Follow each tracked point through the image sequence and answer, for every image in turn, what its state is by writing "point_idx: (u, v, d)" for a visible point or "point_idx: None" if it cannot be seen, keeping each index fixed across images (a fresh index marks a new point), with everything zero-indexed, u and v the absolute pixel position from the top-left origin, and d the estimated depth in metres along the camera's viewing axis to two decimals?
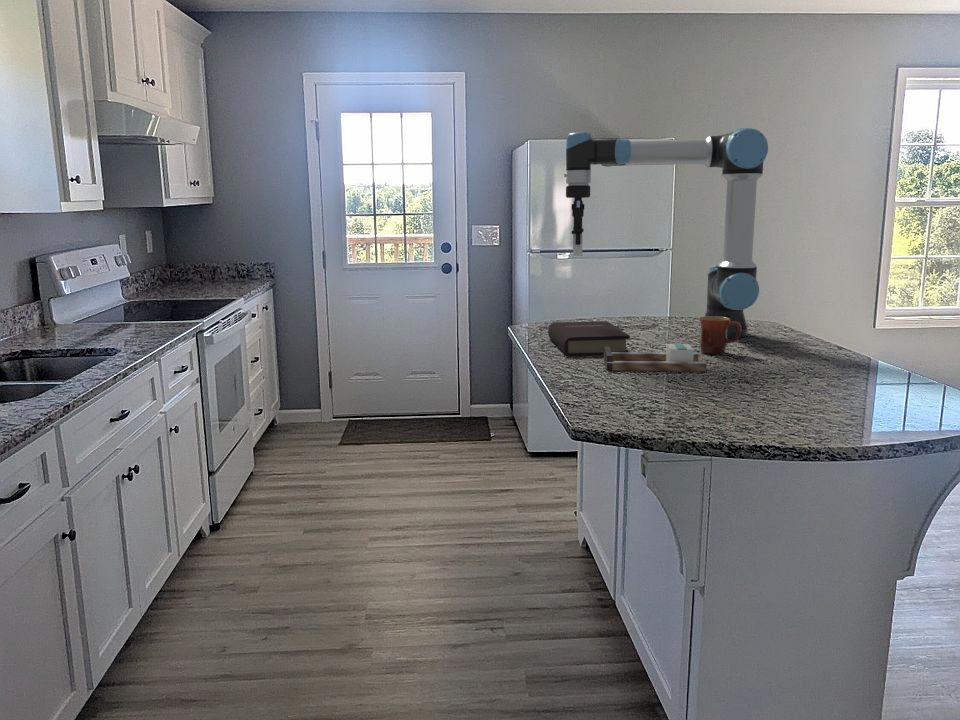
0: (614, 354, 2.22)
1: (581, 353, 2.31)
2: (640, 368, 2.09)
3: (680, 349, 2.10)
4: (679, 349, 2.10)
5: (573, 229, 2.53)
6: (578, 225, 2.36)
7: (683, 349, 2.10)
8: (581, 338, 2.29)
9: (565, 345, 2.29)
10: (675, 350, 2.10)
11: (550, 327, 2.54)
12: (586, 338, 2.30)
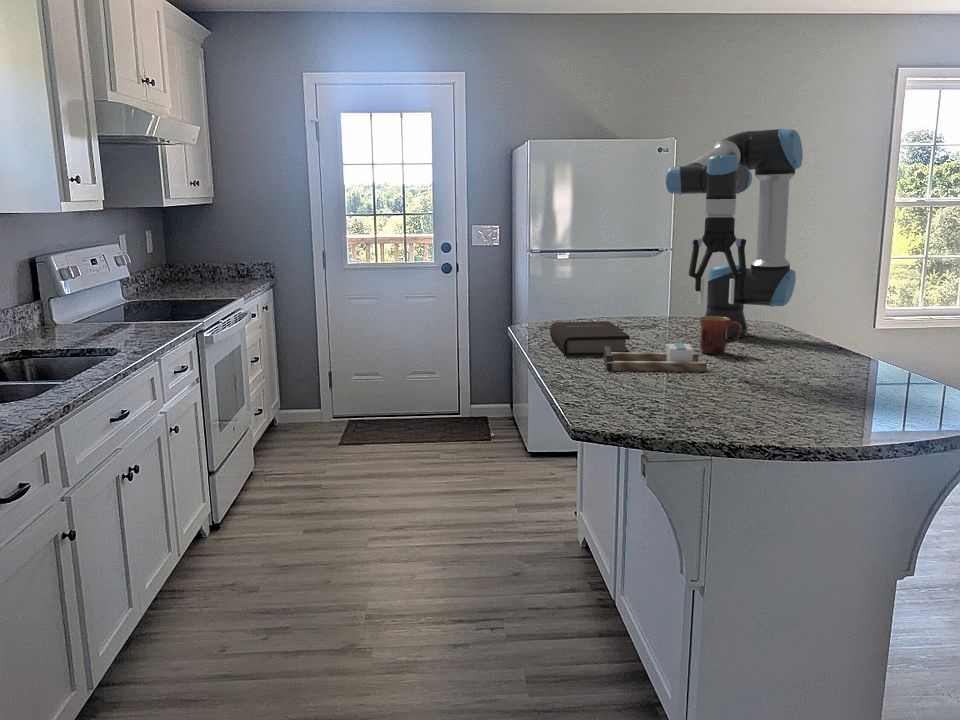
0: (614, 354, 2.22)
1: (580, 353, 2.31)
2: (640, 368, 2.09)
3: (679, 349, 2.10)
4: (678, 349, 2.10)
5: (734, 275, 2.10)
6: (690, 269, 2.09)
7: (682, 349, 2.10)
8: (580, 338, 2.30)
9: (564, 345, 2.30)
10: (674, 350, 2.10)
11: (552, 327, 2.54)
12: (585, 338, 2.30)
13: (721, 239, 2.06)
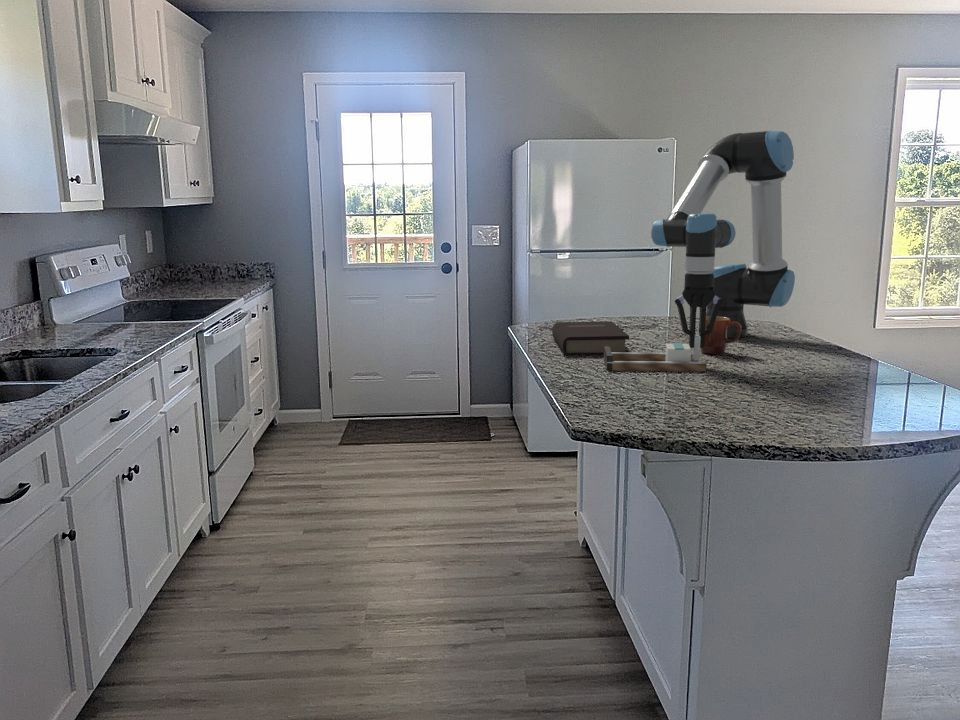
0: (614, 354, 2.22)
1: (580, 353, 2.31)
2: (640, 368, 2.09)
3: (677, 349, 2.10)
4: (676, 349, 2.10)
5: None
6: (682, 327, 2.13)
7: (680, 349, 2.10)
8: (580, 338, 2.30)
9: (563, 345, 2.30)
10: (672, 350, 2.10)
11: (554, 327, 2.55)
12: (585, 338, 2.30)
13: (702, 294, 2.09)
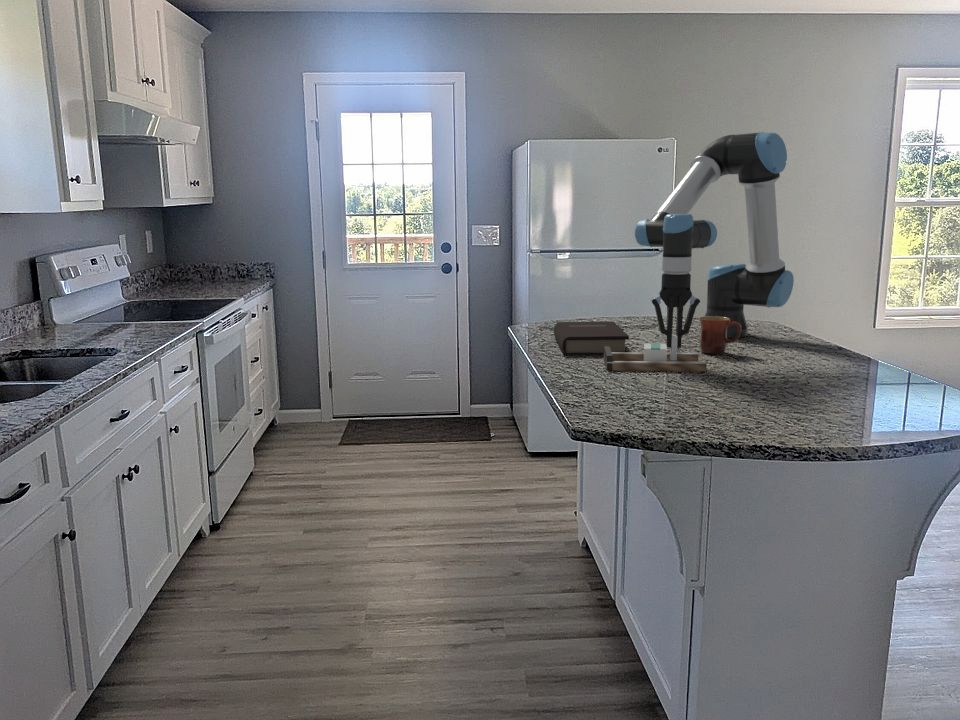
0: (614, 354, 2.22)
1: (579, 353, 2.31)
2: (640, 368, 2.09)
3: (653, 349, 2.11)
4: (652, 349, 2.11)
5: None
6: (659, 327, 2.13)
7: (656, 349, 2.11)
8: (579, 338, 2.30)
9: (563, 344, 2.30)
10: (648, 350, 2.11)
11: (555, 326, 2.55)
12: (584, 338, 2.30)
13: (678, 294, 2.10)
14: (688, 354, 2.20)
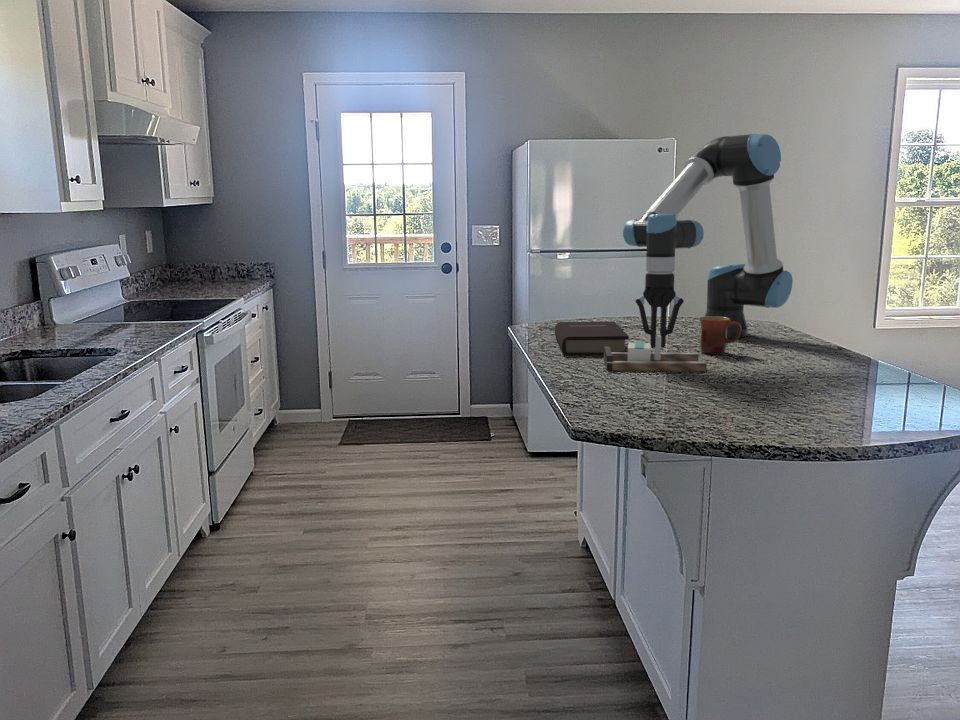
0: (614, 354, 2.22)
1: (579, 353, 2.31)
2: (640, 368, 2.09)
3: (637, 348, 2.11)
4: (636, 348, 2.11)
5: None
6: (643, 327, 2.13)
7: (640, 348, 2.11)
8: (579, 338, 2.30)
9: (563, 344, 2.31)
10: (632, 349, 2.12)
11: (556, 326, 2.55)
12: (584, 338, 2.30)
13: (662, 294, 2.10)
14: (688, 354, 2.20)
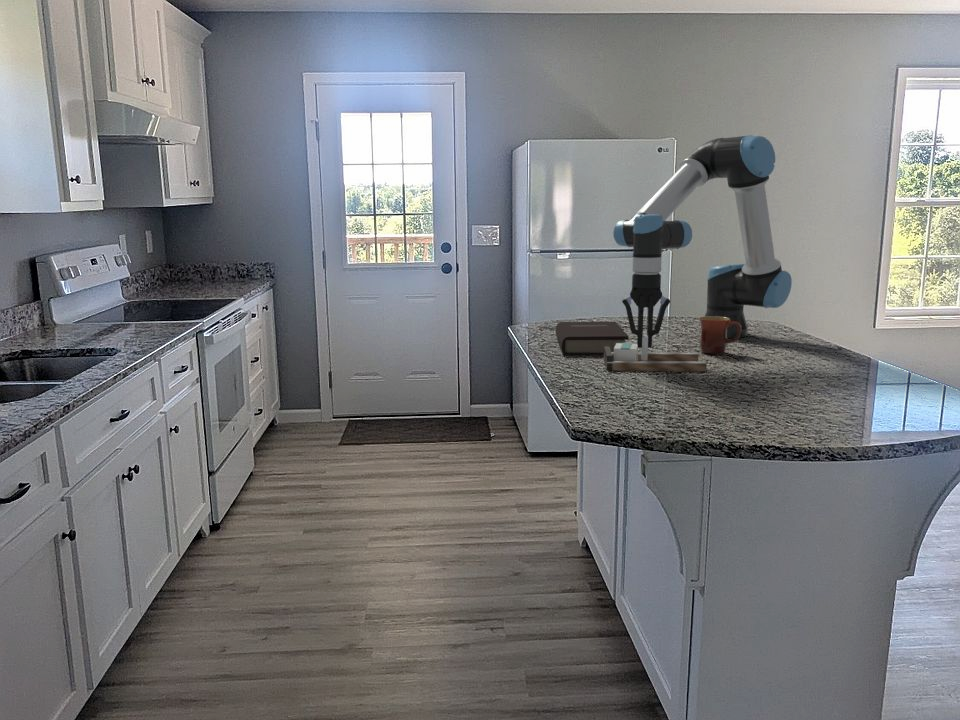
0: None
1: (579, 353, 2.31)
2: (640, 368, 2.09)
3: (623, 348, 2.12)
4: (622, 348, 2.12)
5: None
6: (630, 327, 2.14)
7: (626, 349, 2.12)
8: (579, 338, 2.30)
9: (562, 344, 2.31)
10: (618, 349, 2.12)
11: (557, 326, 2.55)
12: (584, 338, 2.30)
13: (649, 294, 2.11)
14: (688, 354, 2.20)
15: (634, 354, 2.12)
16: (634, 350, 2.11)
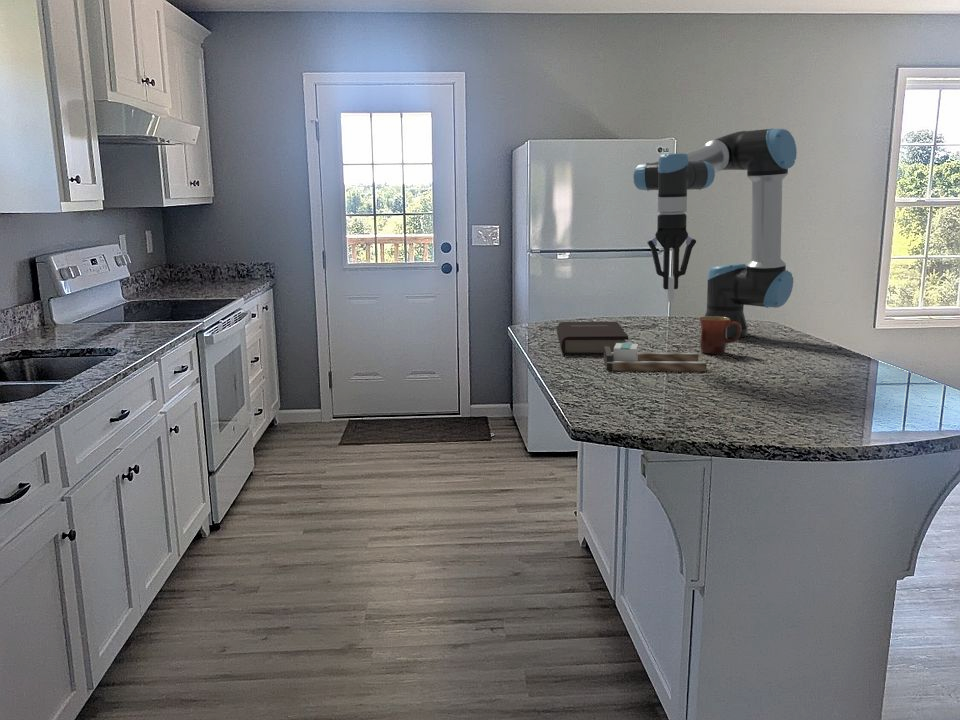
0: None
1: (578, 352, 2.32)
2: (640, 368, 2.09)
3: (623, 348, 2.12)
4: (622, 348, 2.12)
5: None
6: (656, 269, 2.13)
7: (626, 348, 2.12)
8: (578, 338, 2.30)
9: (562, 344, 2.31)
10: (618, 349, 2.12)
11: (558, 326, 2.56)
12: (583, 338, 2.30)
13: (674, 235, 2.10)
14: (688, 354, 2.20)
15: (634, 354, 2.12)
16: (634, 350, 2.11)
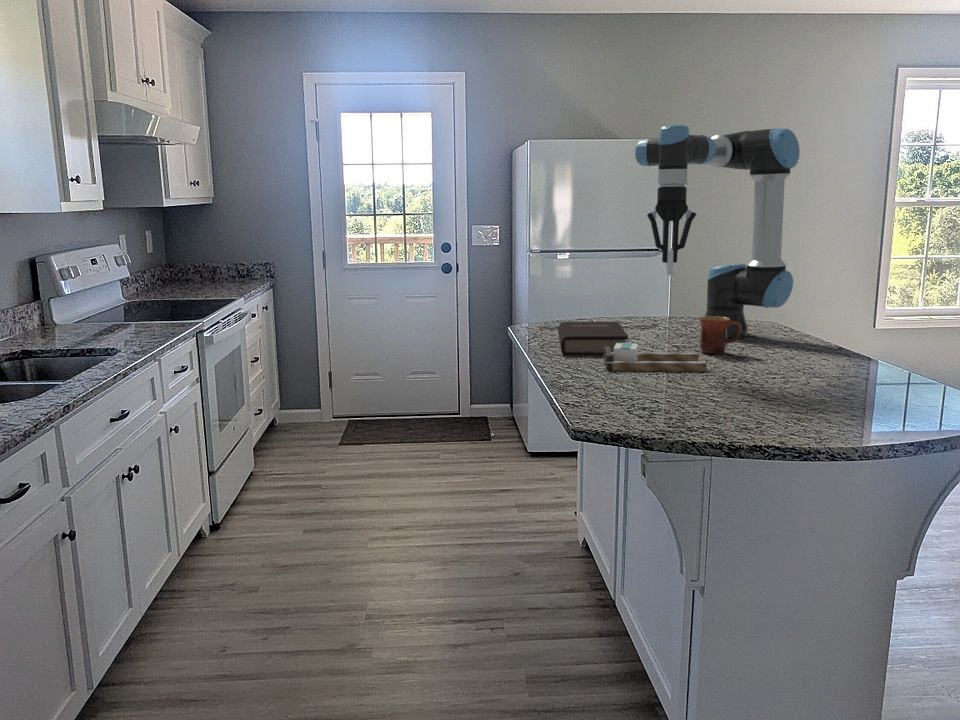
0: None
1: (578, 352, 2.32)
2: (640, 368, 2.09)
3: (623, 348, 2.12)
4: (622, 348, 2.12)
5: None
6: (655, 242, 2.13)
7: (626, 348, 2.12)
8: (578, 337, 2.30)
9: (562, 344, 2.31)
10: (618, 349, 2.12)
11: (559, 326, 2.56)
12: (583, 338, 2.30)
13: (674, 207, 2.09)
14: (688, 354, 2.20)
15: (634, 354, 2.12)
16: (634, 350, 2.11)
